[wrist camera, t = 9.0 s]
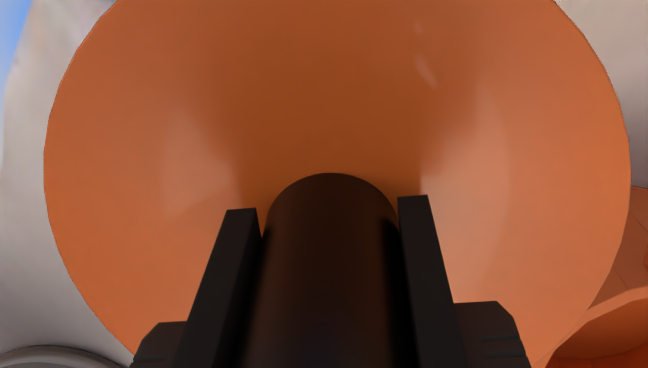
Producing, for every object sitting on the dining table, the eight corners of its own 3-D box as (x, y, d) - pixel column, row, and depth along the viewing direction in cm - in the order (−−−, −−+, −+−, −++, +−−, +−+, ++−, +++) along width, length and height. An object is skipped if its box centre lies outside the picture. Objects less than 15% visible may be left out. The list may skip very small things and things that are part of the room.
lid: (140, 410, 21) (22, 713, 14) (-26, -48, 14) (-473, 50, 6) (584, 389, 20) (731, 711, 12) (654, -128, 13) (1111, -124, 5)
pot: (482, 393, 45) (514, 513, 36) (487, 156, 36) (529, 244, 27) (683, 382, 44) (763, 504, 35) (741, 134, 34) (869, 219, 26)
